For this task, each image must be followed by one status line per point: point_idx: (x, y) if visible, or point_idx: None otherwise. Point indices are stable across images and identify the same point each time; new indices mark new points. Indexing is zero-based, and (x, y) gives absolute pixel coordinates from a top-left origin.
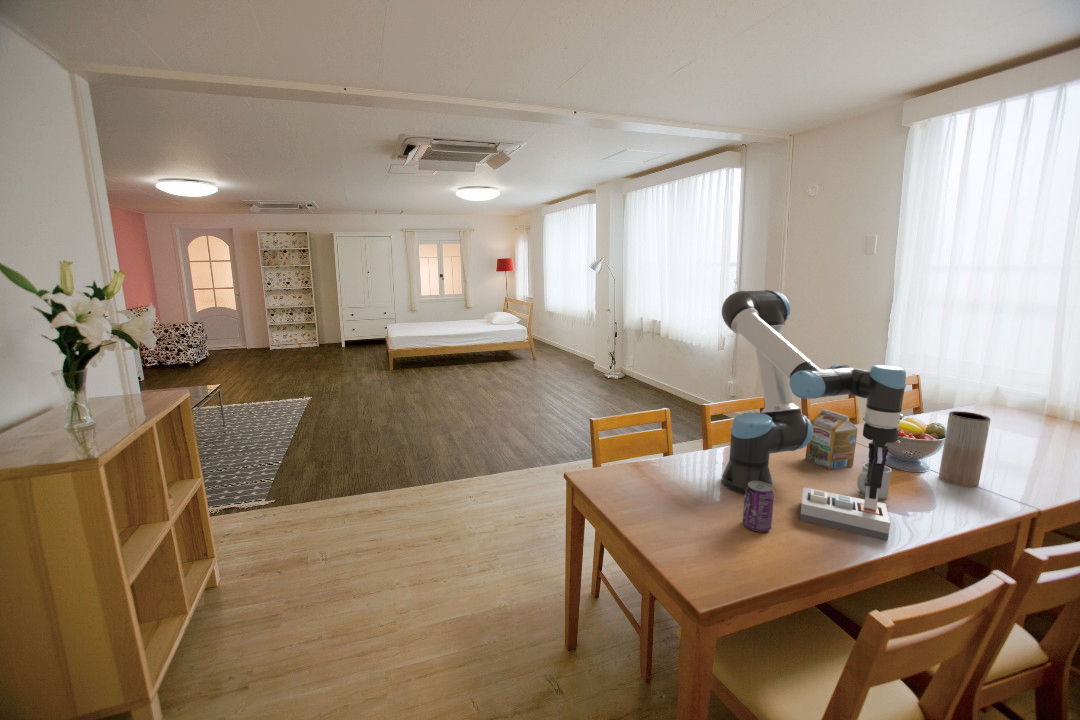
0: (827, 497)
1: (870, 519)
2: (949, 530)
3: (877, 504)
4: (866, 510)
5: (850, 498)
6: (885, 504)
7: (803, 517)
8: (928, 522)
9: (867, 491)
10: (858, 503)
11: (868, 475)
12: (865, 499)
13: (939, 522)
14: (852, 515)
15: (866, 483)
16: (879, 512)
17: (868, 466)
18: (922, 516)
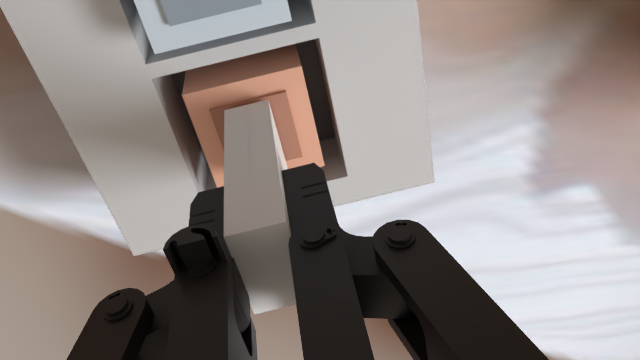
0: None
1: (89, 164)
2: None
3: (386, 150)
4: (207, 122)
5: (255, 11)
6: (421, 184)
7: None
8: (508, 260)
9: (224, 201)
10: (321, 45)
11: (313, 289)
12: (225, 147)
13: (533, 285)
14: (33, 60)
15: (195, 253)
16: (340, 150)
17: (463, 323)
18: (564, 235)
